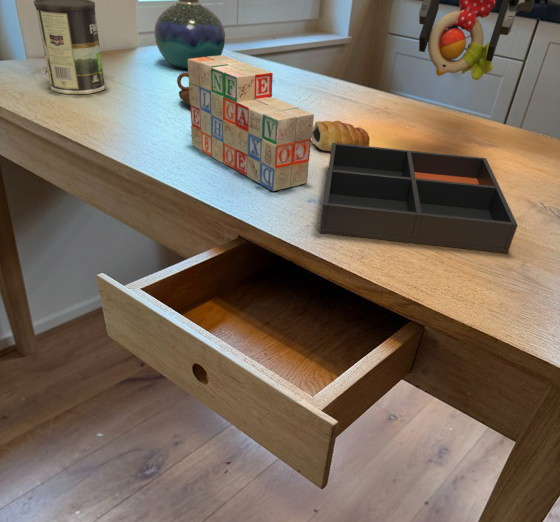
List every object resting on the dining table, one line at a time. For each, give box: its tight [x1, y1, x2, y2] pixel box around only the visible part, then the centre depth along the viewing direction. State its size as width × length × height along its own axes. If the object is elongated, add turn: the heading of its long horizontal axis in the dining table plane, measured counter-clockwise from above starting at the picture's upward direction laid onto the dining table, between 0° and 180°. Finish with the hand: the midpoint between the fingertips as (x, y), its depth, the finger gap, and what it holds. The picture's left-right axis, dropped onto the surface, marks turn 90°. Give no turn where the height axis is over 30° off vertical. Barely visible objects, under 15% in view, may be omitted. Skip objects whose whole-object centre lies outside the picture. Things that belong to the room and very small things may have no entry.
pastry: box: [311, 120, 371, 152], centre depth 90 cm, size 9×7×4 cm
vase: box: [154, 0, 226, 70], centre depth 124 cm, size 15×15×13 cm
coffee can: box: [33, 0, 106, 95], centre depth 104 cm, size 10×10×14 cm
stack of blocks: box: [187, 54, 315, 192], centre depth 79 cm, size 21×6×12 cm, turn 38°
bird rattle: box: [427, 0, 496, 81], centre depth 75 cm, size 6×11×9 cm
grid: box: [319, 143, 518, 254], centre depth 74 cm, size 22×22×4 cm
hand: (455, 49), depth 74 cm, fingers closed on bird rattle, 8 cm apart
